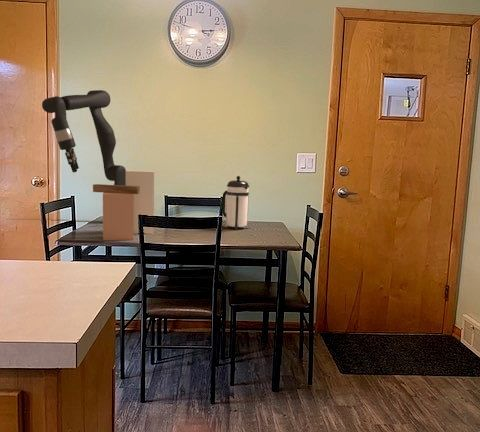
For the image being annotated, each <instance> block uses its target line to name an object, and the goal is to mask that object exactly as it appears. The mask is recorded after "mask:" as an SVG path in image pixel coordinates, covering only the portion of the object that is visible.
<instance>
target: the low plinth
mask: <svg viewBox="0 0 480 432" xmlns="http://www.w3.org/2000/svg"><path fill="white" fill-rule="evenodd" d="M134 237H135V234H134V194H123V193H103V192H102V240H103V241H134Z"/></svg>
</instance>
